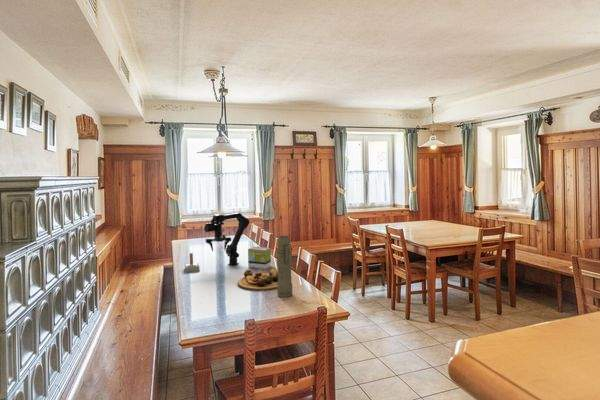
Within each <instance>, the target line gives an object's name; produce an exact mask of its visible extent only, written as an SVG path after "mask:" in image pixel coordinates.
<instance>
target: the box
mask: <svg viewBox="0 0 600 400" xmlns="http://www.w3.org/2000/svg"><path fill="white" fill-rule="evenodd" d="M184 271H185V273H196V272H200V263H199V262H197V265H188V266H186V263H184Z"/></svg>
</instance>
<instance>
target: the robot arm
mask: <svg viewBox="0 0 600 400" xmlns="http://www.w3.org/2000/svg"><path fill="white" fill-rule="evenodd" d="M231 219H233V220H234V219H236V220H237V221H238V224H237V225H238V228H237V230H236V231H235V235H234V237H233V239H232V237H230V236H226V234H223V228H222V227H223V226H222V225H225V223H224V221H226V220H231ZM249 225H250V219H249V218H246V216H244V215H242V213H240V212H235V213H227V214H217V213H215V214H214V215H213V216H212V219H211V220H210V222H206V223H205V225H204V227H203V229H204V232H205V233H212V232H213V233H214V238H211V237H209V238H208V237H207V238H205V243H206V244H208V245H209V246H210V248H211V251H212V252H214V246H213V242H216V243H219V242H224V243H223V244H224V247H223V249H224V251H225V253H226V255H227V257H228V258H229V259H228V262H229V263H228V264H227V265H228V266H237V265H239V264H240V263H239V262H238V258H239V257H240V254H239V253H238V244H239V242H240V240H241V238H242V236H243V233H244V231H245V230H246V229H247V228H248V226H249ZM230 242H231V243H230ZM229 243H230V244H229Z"/></svg>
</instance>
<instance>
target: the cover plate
mask: <svg viewBox="0 0 600 400" xmlns="http://www.w3.org/2000/svg"><path fill="white" fill-rule="evenodd" d="M185 264H186V263H185ZM188 265H198V262H197V263H194V254H193V252H190V253H189V263H187V264H186V266H188Z"/></svg>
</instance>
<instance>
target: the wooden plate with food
mask: <svg viewBox="0 0 600 400" xmlns="http://www.w3.org/2000/svg"><path fill="white" fill-rule="evenodd" d="M253 273H254V272H253V271H252V270H251V269H245V271H244V272H243V277H241V278H239V279H238V280H237V286H238V287H239V288H241V289H243V290H246V291H247V290H248V291H253V290H254V291H255V292H256V291H257V292H258V291H259V292H260V291H262V290H264V291H271V290H277V284H278V270H276V269H275V268H271V269H270V271H269V273H266V272H262V271H258V272H255V273H254V274H253ZM254 291H253V292H254ZM262 292H263V291H262Z"/></svg>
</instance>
